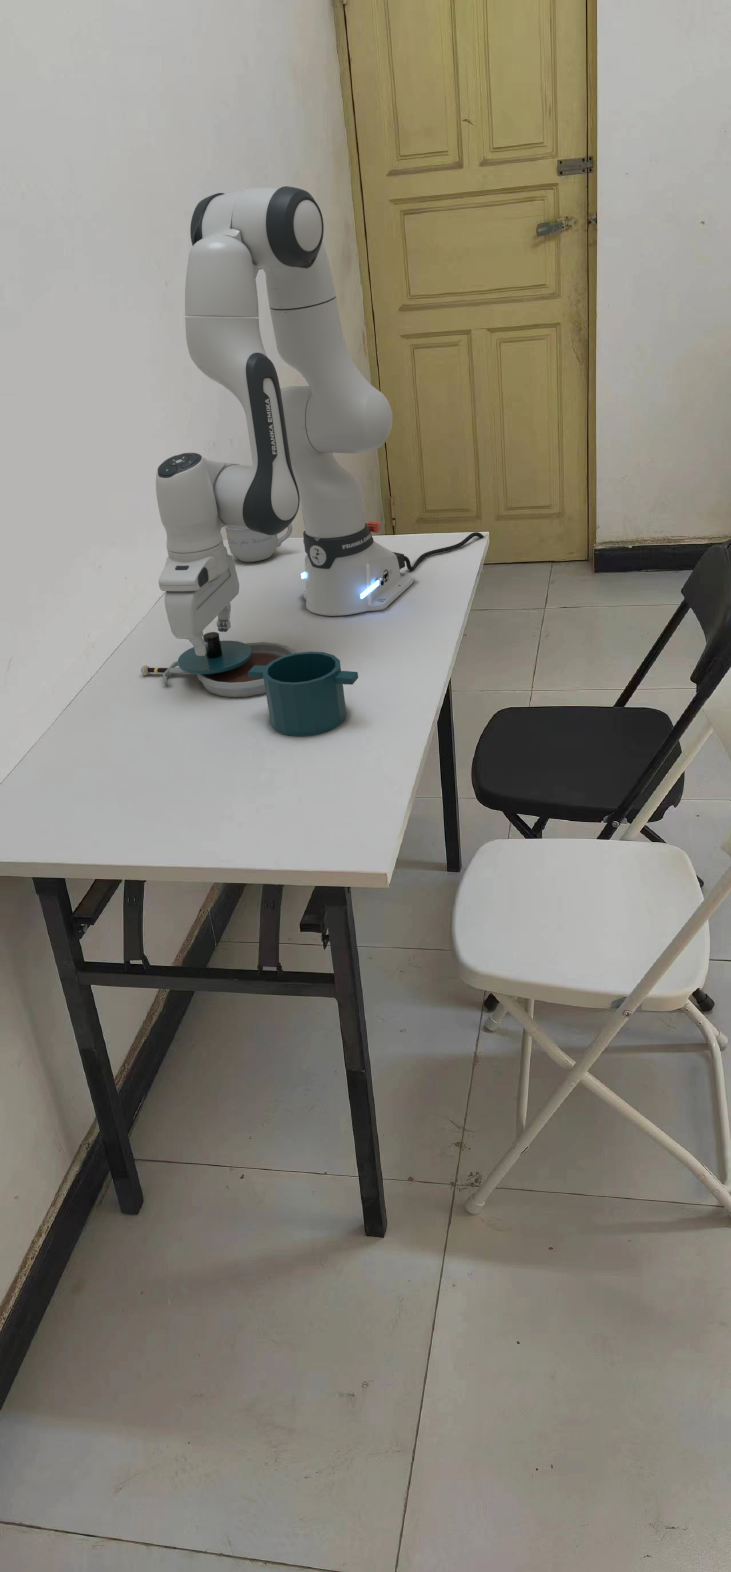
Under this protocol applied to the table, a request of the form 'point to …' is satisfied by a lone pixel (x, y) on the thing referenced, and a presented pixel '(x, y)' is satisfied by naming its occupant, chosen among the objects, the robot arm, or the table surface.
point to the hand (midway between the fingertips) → (213, 641)
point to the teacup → (253, 543)
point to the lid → (215, 656)
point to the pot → (305, 692)
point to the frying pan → (234, 672)
